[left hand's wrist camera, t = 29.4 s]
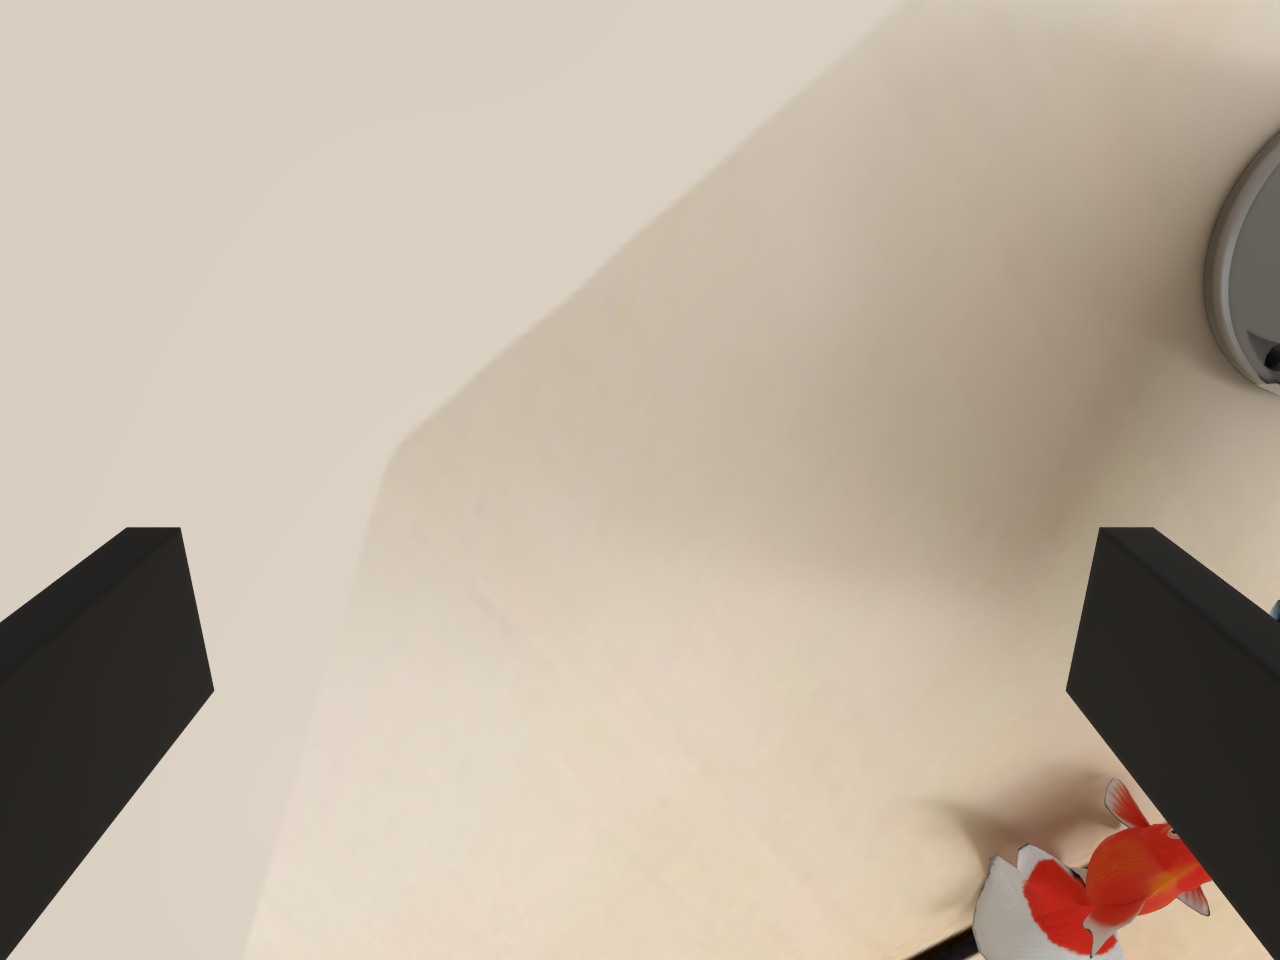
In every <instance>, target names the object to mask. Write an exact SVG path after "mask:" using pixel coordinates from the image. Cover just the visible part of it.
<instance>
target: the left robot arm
mask: <svg viewBox="0 0 1280 960" xmlns="http://www.w3.org/2000/svg"><path fill="white" fill-rule="evenodd" d="M1204 298H1205V305H1206V312H1207V316H1208V320H1209V323H1210V327H1211V329H1212V332H1213V334H1214V337H1215V339H1216V341H1217V343H1218V345H1219V347H1220V348H1221V350H1222V352H1223V353H1224V354H1225V356H1226V357H1227V359H1228V360H1229V361H1230V362H1231V363H1232V365H1233V366H1234V367H1235V368H1236V369H1237V370H1238V371H1239V372H1240V373H1242V374H1243V375H1244V376H1245V377H1246V378H1248V379H1249V380H1251V381H1252V382H1254V383H1255V384H1257V386H1259V387H1261V388H1264V389H1266V390H1268V391H1270V392H1272V393H1274V394H1276V395H1278V396H1280V132H1279V133H1278V134H1277V135H1276V136H1275V137H1274V138H1273V139H1272V140H1271V141H1270V142H1269V143H1268V144H1267V145H1266V146H1265V147H1264V148H1263V149H1262V150H1261V151H1260V152H1259V154H1258V155H1257V156H1256V157H1255V158H1254V159H1253V161H1252V162H1251V163H1250V165H1249V166H1248V167H1247V168H1246V170H1245V171H1244V172H1243V174H1242V175H1241V177H1240V178H1239V180H1238V181H1237V183H1236V184H1235V186H1234V187H1233V189H1232V191H1231V193H1230V195H1229V196H1228V198H1227V200H1226V202H1225V204H1224V206H1223V208H1222V210H1221V212H1220V215H1219V217H1218V219H1217V222H1216V225H1215V227H1214V230H1213V233H1212V236H1211V240H1210V244H1209V248H1208V252H1207V258H1206V264H1205V274H1204ZM213 692H214V687H213V682H212V677H211V672H210V668H209V663H208V658H207V653H206V648H205V644H204V639H203V634H202V629H201V624H200V620H199V615H198V610H197V605H196V600H195V595H194V591H193V586H192V581H191V576H190V571H189V567H188V562H187V557H186V552H185V547H184V543H183V538H182V533H181V528H180V527H127V528H125V529H124V530H123V531H121V532H120V533H119V534H117V535H116V536H115V537H113V538H112V539H111V540H109V541H108V542H107V543H105V544H104V545H103V546H101V547H100V548H99V549H97V550H96V551H95V552H93V553H92V554H91V555H89V556H88V557H87V558H85V559H84V560H83V561H81V562H80V563H79V564H77V565H76V566H75V567H73V568H72V569H71V570H69V571H68V572H67V573H65V574H64V575H63V576H61V577H60V578H59V579H57V580H56V581H55V582H53V583H52V584H51V585H49V586H48V587H47V588H45V589H44V590H43V591H41V592H40V593H39V594H37V595H36V596H35V597H34V598H32V599H31V600H30V601H28V602H27V603H25V604H24V605H23V606H22V607H20V608H19V609H18V610H16V611H15V612H14V613H12V614H11V615H10V616H8V617H7V618H6V619H4V620H3V621H2V622H0V960H6V959H7V957H8V956H9V955H10V954H11V952H12V951H13V950H14V948H15V947H16V946H17V944H18V943H19V942H20V941H21V939H22V938H23V937H24V936H25V934H26V933H27V932H28V930H29V929H30V928H31V926H32V925H33V924H34V923H35V921H36V920H37V919H38V917H39V916H40V915H41V914H42V912H43V911H44V910H45V908H46V907H47V906H48V905H49V903H50V902H51V901H52V899H53V898H54V897H55V896H56V894H57V893H58V892H59V890H60V889H61V888H62V886H63V885H64V884H65V883H66V881H67V880H68V879H69V877H70V876H71V875H72V874H73V872H74V871H75V870H76V868H77V867H78V866H79V865H80V863H81V862H82V861H83V859H84V858H85V857H86V856H87V854H88V853H89V852H90V850H91V849H92V848H93V847H94V845H95V844H96V843H97V841H98V840H99V839H100V837H101V836H102V835H103V834H104V832H105V831H106V830H107V828H108V827H109V826H110V825H111V823H112V822H113V821H114V819H115V818H116V817H117V816H118V814H119V813H120V812H121V810H122V809H123V808H124V807H125V805H126V804H127V803H128V801H129V800H130V799H131V798H132V796H133V795H134V794H135V792H136V791H137V790H138V788H139V787H140V786H141V785H142V783H143V782H144V781H145V779H146V778H147V777H148V776H149V774H150V773H151V772H152V770H153V769H154V768H155V767H156V765H157V764H158V763H159V761H160V760H161V759H162V757H163V756H164V755H165V754H166V752H167V751H168V750H169V748H170V747H171V746H172V745H173V743H174V742H175V741H176V739H177V738H178V737H179V735H180V734H181V733H182V732H183V730H184V729H185V728H186V727H187V725H188V724H189V723H190V721H191V720H192V719H193V717H194V716H195V715H196V714H197V712H198V711H199V710H200V708H201V707H202V706H203V705H204V703H205V702H206V701H207V699H208V698H209V697H210V696H211V694H212V693H213ZM1066 692H1067V693H1068V694H1069V696H1070V697H1071V698H1072V699H1073V701H1074V702H1075V703H1076V705H1077V706H1078V707H1079V709H1080V710H1081V711H1082V712H1083V714H1084V715H1085V716H1086V718H1087V719H1088V720H1089V721H1090V723H1091V724H1092V725H1093V727H1094V728H1095V729H1096V730H1097V732H1098V733H1099V734H1100V736H1101V737H1102V738H1103V739H1104V741H1105V742H1106V743H1107V745H1108V746H1109V747H1110V748H1111V750H1112V751H1113V752H1114V754H1115V755H1116V756H1117V758H1118V759H1119V760H1120V761H1121V763H1122V764H1123V765H1124V767H1125V768H1126V769H1127V770H1128V772H1129V773H1130V774H1131V776H1132V777H1133V778H1134V779H1135V781H1136V782H1137V783H1138V785H1139V786H1140V787H1141V788H1142V790H1143V791H1144V792H1145V794H1146V795H1147V796H1148V798H1149V799H1150V800H1151V801H1152V803H1153V804H1154V805H1155V807H1156V808H1157V809H1158V810H1159V812H1160V813H1161V814H1162V816H1163V817H1164V818H1165V819H1166V821H1167V822H1168V823H1169V825H1170V826H1171V827H1172V828H1173V830H1174V831H1175V832H1176V834H1177V835H1178V836H1179V837H1180V839H1181V840H1182V841H1183V843H1184V844H1185V845H1186V847H1187V848H1188V849H1189V850H1190V852H1191V853H1192V854H1193V856H1194V857H1195V858H1196V859H1197V861H1198V862H1199V863H1200V865H1201V866H1202V867H1203V868H1204V870H1205V871H1206V872H1207V874H1208V875H1209V876H1210V877H1211V879H1212V880H1213V881H1214V883H1215V884H1216V885H1217V887H1218V888H1219V889H1220V890H1221V892H1222V893H1223V894H1224V896H1225V897H1226V898H1227V899H1228V901H1229V902H1230V903H1231V905H1232V906H1233V907H1234V908H1235V910H1236V911H1237V912H1238V914H1239V915H1240V916H1241V917H1242V919H1243V920H1244V921H1245V923H1246V924H1247V925H1248V926H1249V928H1250V929H1251V930H1252V932H1253V933H1254V934H1255V936H1256V937H1257V938H1258V939H1259V941H1260V942H1261V943H1262V945H1263V946H1264V947H1265V948H1266V950H1267V951H1268V952H1269V954H1270V955H1271V956H1272V957H1273V959H1274V960H1280V600H1278V601H1277V602H1276V604H1275V605H1274V606H1273V608H1272V610H1271V612H1270V615H1269V614H1268V613H1266V612H1265V611H1264V610H1262V609H1261V608H1260V607H1259V606H1257V605H1256V604H1255V603H1253V602H1252V601H1251V600H1249V599H1248V598H1247V597H1245V596H1244V595H1243V594H1241V593H1240V592H1239V591H1237V590H1236V589H1235V588H1233V587H1232V586H1231V585H1229V584H1228V583H1227V582H1225V581H1224V580H1223V579H1221V578H1220V577H1219V576H1217V575H1216V574H1215V573H1213V572H1212V571H1211V570H1209V569H1208V568H1207V567H1205V566H1204V565H1203V564H1201V563H1200V562H1199V561H1197V560H1196V559H1195V558H1193V557H1192V556H1191V555H1189V554H1188V553H1187V552H1185V551H1184V550H1183V549H1181V548H1180V547H1179V546H1177V545H1176V544H1175V543H1173V542H1172V541H1171V540H1169V539H1168V538H1167V537H1165V536H1164V535H1163V534H1161V533H1160V532H1159V531H1157V530H1156V529H1155V528H1153V527H1100V528H1099V533H1098V538H1097V543H1096V547H1095V552H1094V557H1093V562H1092V567H1091V571H1090V576H1089V581H1088V586H1087V591H1086V595H1085V600H1084V605H1083V610H1082V615H1081V619H1080V624H1079V629H1078V634H1077V639H1076V644H1075V648H1074V653H1073V658H1072V663H1071V668H1070V672H1069V677H1068V682H1067V687H1066Z"/></svg>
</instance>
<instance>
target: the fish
mask: <svg viewBox="0 0 1280 960" xmlns="http://www.w3.org/2000/svg"><path fill="white" fill-rule="evenodd" d="M1105 806H1106V808H1107V809H1108V810H1109V811H1110V812H1111V813H1112V814H1113V815H1114V816H1115V817H1116V818H1117V819H1118V820H1119V821H1120V822H1122V823H1123V824H1124V825H1126V826H1127V827H1128V829H1125V830H1122V831H1120V832H1118V833H1116V834H1113V835H1111V836H1109V837H1108V838H1106V839H1105V840H1104V841H1102V842H1101V843H1100V845H1099V846H1098V847H1097V848H1096V850H1095V851H1094V853H1093V855H1092V857H1091V859H1090V862H1089V865H1088V869H1083V868H1074V867H1068V866H1066V865H1065V864H1063V863H1062V862H1060V861H1059V860H1058V859H1056V858H1055V857H1053V856H1052V855H1050V854H1048V853H1046V852H1045V851H1043V850H1041V849H1039V848H1037V847H1035V846H1033V845H1030V844H1026V845H1024V846H1023V847H1021V848H1019V849H1018V861H1017V868H1016V867H1015V866H1013V865H1012V864H1010V863H1008V862H1007V861H1005V860H1004V859H1002V858H1001V857H999V856H997V855H996V856H994V857H992V858H990V863H989V870H988V875H987V879H986V881H985V883H984V885H983V887H982V889H981V891H980V894H979V897H978V900H977V903H976V908H975V912H974V916H973V925H972V930H973V933H974V937H975V940H976V943H977V947H978V950H979V952H980V953H981V954H982V956H983V957H984V958H985V959H986V960H1124V956H1123V951H1122V948H1121V944H1120V941H1119V937H1118V934H1117V931H1116V930H1118V929H1120V928H1122V927H1123V926H1125V925H1127V924H1129V923H1131V922H1132V921H1133V919H1134V918H1135V917H1136V916H1138V915H1144V914H1148V913H1151V912H1154V911H1157V910H1159V909H1161V908H1163V907H1165V906H1167V905H1168V904H1169V903H1171V902H1172V901H1173V900H1174V899H1175V898H1178V899H1179V900H1180V901H1182V902H1183V903H1185V904H1186V905H1187V906H1189V907H1190V908H1192V909H1194V910H1195V911H1197V912H1198V913H1200V914H1202V915H1205V916H1210V911H1209V906H1208V903H1207V900H1206V898H1205V896H1204V894H1203V891H1202V889H1201V886H1200V885H1202V884H1203V883H1205V882H1210V881H1212V879H1211V877H1210V876H1209V875H1208V874H1207V872H1206V871H1205V870H1204V868H1203V867H1202V866H1201V865H1200V863H1199V862H1198V861H1197V859H1196V858H1195V857H1194V856H1193V854H1192V853H1191V852H1190V850H1189V849H1188V848H1187V847H1186V845H1185V844H1184V843H1183V841H1182V840H1181V839H1180V837H1179V836H1178V835H1177V834H1176V832H1175V831H1174V830H1173V828H1172V827H1171V826H1170V825H1169V824H1153V825H1150V824H1149V823H1148V821H1147V820H1146V818H1145V817H1144V815H1143V814H1142V812H1141V811H1140V809H1139V808H1138V806H1137V804H1136V803H1135V801H1134V800H1133V798H1132V796H1131V795H1130V793H1129V791H1128V790H1127V788H1126V787H1125V786H1124V785H1123V784H1122V783H1121V781H1119V780H1116V779H1112V780H1111V782H1110V784H1109V786H1108V787H1107V791H1106V795H1105Z"/></svg>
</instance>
